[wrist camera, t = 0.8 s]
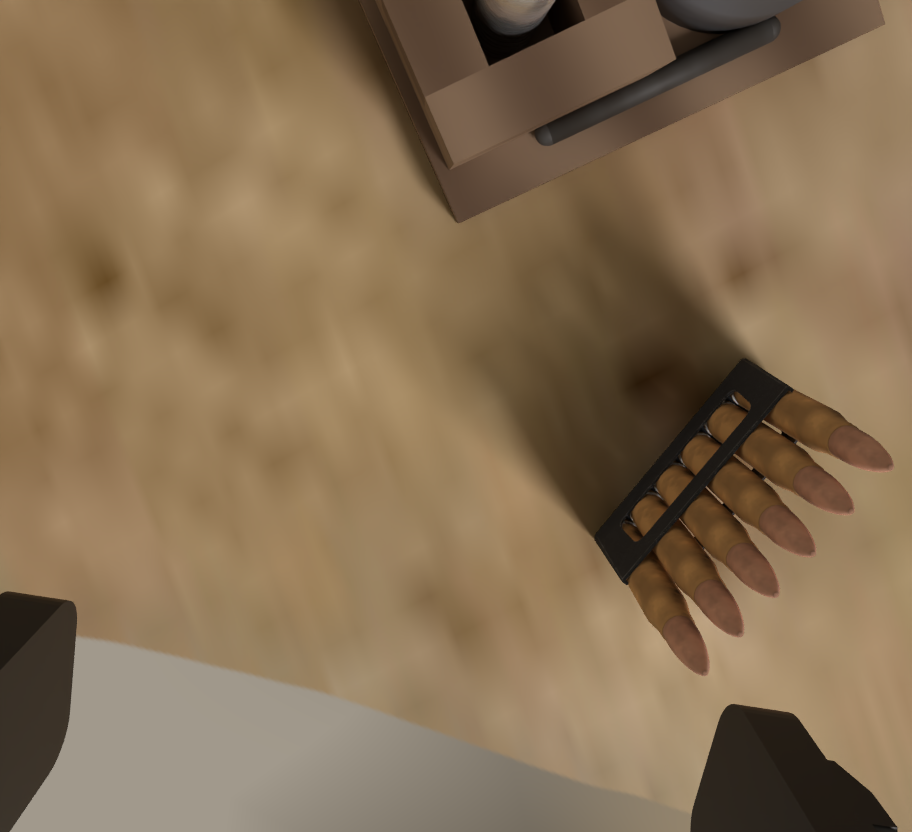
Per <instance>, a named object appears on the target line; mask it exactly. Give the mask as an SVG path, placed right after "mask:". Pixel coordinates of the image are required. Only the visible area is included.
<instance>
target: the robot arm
mask: <svg viewBox="0 0 912 832" xmlns="http://www.w3.org/2000/svg"><path fill="white" fill-rule="evenodd" d="M76 627H77V611H76V607H75V604H74V603H73V602H72V601H68V600H62V599H55V598H49V597H42V596H35V595H29V594H22V593H16V592H4V593H2V594H1V595H0V832H9V831H10V830H11V829H12V827H13V826H14V824H15V823H16V822H17V820H18V819H19V817H20V816H21V814H22V813H23V811H24V810H25V808H26V807H27V805H28V804H29V803H30V801H31V800H32V798H33V797H34V795H35V794H36V792H37V791H38V789H39V788H40V786H41V785H42V783H43V782H44V780H45V779H46V777H47V776H48V775H49V773H50V771H51V770H52V768H53V766H54V764H55V762H56V760H57V758H58V756H59V753H60V750H61V748H62V745H63V742H64V738H65V735H66V731H67V727H68V722H69V715H70V704H71V690H72V677H73V664H74V652H75V639H76ZM691 832H897V826H896V825H895V823H894V822H893V821H892V819H891V818H890V817H889V815H888V814H887V813H886V811H885V810H884V809H883V807H882V806H881V804H880V803H879V802H878V800H877V799H876V798H875V796H874V795H873V794H872V793H871V792H870V791H869V790H868V789H867V788H866V787H864V786H863V785H862V784H861V783H860V782H858V781H857V780H856V779H855V778H854V777H852V776H851V775H850V774H849V773H848V772H847V771H845V770H844V769H843V768H842V767H841V766H839V765H838V764H837V763H836V762H835V761H830V760H827V759H826V758H825V756H824V755H823V753H822V752H821V751H820V749H819V748H818V746H817V745H816V743H815V742H814V741H813V739H812V738H811V736H810V735H809V733H808V732H807V730H806V729H805V728H804V726H803V725H802V723H801V722H800V720H799V719H798V718H797V717H796V716H795V715H794V714H792V713H789V712H783V711H776V710H770V709H763V708H757V707H750V706H744V705H737V704H731V705H729V706H727V707H726V708H725V710H724V711H723V713H722V715H721V717H720V719H719V722H718V725H717V729H716V732H715V735H714V739H713V742H712V746H711V749H710V752H709V756H708V759H707V762H706V766H705V769H704V772H703V776H702V779H701V782H700V786H699V789H698V793H697V796H696V799H695V803H694V806H693V810H692V817H691Z"/></svg>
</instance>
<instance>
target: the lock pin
mask: <svg viewBox="0 0 912 832" xmlns="http://www.w3.org/2000/svg"><path fill="white" fill-rule="evenodd" d="M554 2H555V0H475V1H474V5H473V9H472V13H471V17H470V21H471V24H472V26H473V29H474V31H475V34H476V36H477V38H478V41H479V43H480V46H481V48H482V51H483V52H484V53H485V54H487V55H489V56H491V57H495V58H507V57H510V56H512V55H514V54H516V53H518V52H520V51H521V50H522V49H523V48H524V47H525V46H526V45H527V43H528V42H529V40H530V39H531V37H532V36H533V34H534V33H535V31H536V30H537V28H538V26H539V25H540V23H541V22H542V20H543V19H544V17H545V16H546V14H547V13H548V11H549V10H550V8H551V6H552V5H553V3H554Z"/></svg>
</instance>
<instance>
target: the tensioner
mask: <svg viewBox="0 0 912 832" xmlns="http://www.w3.org/2000/svg"><path fill="white" fill-rule="evenodd" d="M474 1H475V0H359V3H360V5H361V7H362V9H363V12H364V14H365V16H366V18H367V21H368V23H369V25H370V27H371V30H372V32H373V34H374V36H375V39H376V41H377V43H378V46H379V48H380V50H381V52H382V55H383V57H384V59H385V61H386V64H387V66H388V68H389V70H390V73H391V75H392V77H393V80H394V82H395V84H396V86H397V89H398V91H399V93H400V95H401V98H402V100H403V102H404V104H405V107H406V109H407V111H408V114H409V116H410V118H411V120H412V123H413V125H414V127H415V129H416V132H417V134H418V136H419V138H420V141H421V143H422V145H423V148H424V150H425V152H426V154H427V157H428V159H429V161H430V163H431V166H432V168H433V170H434V172H435V175H436V177H437V179H438V181H439V184H440V186H441V188H442V191H443V193H444V195H445V197H446V200H447V202H448V204H449V206H450V209H451V211H452V213H453V215H454V218H455V220H456V222H457V223H460V222H462V221H465V220H467V219H469V218H471V217H473V216H475V215H477V214H480V213H482V212H484V211H486V210H488V209H490V208H492V207H495V206H497V205H499V204H501V203H503V202H505V201H507V200H510V199H512V198H514V197H516V196H518V195H520V194H522V193H525V192H527V191H529V190H531V189H533V188H535V187H537V186H540V185H542V184H544V183H546V182H548V181H550V180H552V179H555V178H557V177H559V176H561V175H563V174H565V173H567V172H570V171H572V170H574V169H576V168H578V167H580V166H582V165H585V164H587V163H589V162H591V161H593V160H595V159H597V158H600V157H602V156H604V155H606V154H608V153H610V152H612V151H615V150H617V149H619V148H621V147H623V146H625V145H627V144H630V143H632V142H634V141H636V140H638V139H640V138H642V137H645V136H647V135H649V134H651V133H653V132H655V131H657V130H660V129H662V128H664V127H666V126H668V125H670V124H672V123H675V122H677V121H679V120H681V119H683V118H685V117H687V116H690V115H692V114H694V113H696V112H698V111H700V110H702V109H705V108H707V107H709V106H711V105H713V104H715V103H717V102H720V101H722V100H724V99H726V98H728V97H730V96H732V95H735V94H737V93H739V92H741V91H743V90H745V89H747V88H750V87H752V86H754V85H756V84H758V83H760V82H762V81H765V80H767V79H769V78H771V77H773V76H775V75H777V74H780V73H782V72H784V71H786V70H788V69H790V68H792V67H795V66H797V65H799V64H801V63H803V62H805V61H807V60H810V59H812V58H814V57H816V56H818V55H820V54H822V53H825V52H827V51H829V50H831V49H833V48H835V47H837V46H840V45H842V44H844V43H846V42H848V41H850V40H852V39H855V38H857V37H859V36H861V35H863V34H865V33H867V32H870V31H872V30H874V29H876V28H878V27H880V26H882V25H885V21H884V18H883V14H882V11H881V8H880V4H879V1H878V0H555V2H554V3H553V5H552V6H551V8H550V10H549V11H548V13H547V14H546V16H545V17H544V19H543V20H542V22H541V23H540V25H539V26H538V28H537V30H536V31H535V33H534V34H533V36H532V37H531V39H530V40H529V42H528V43H527V45H526V46H525V47H524V48H523V49H522V50H521V51H520V52H518V53H516V54H514V55H512V56H510V57H507V58H495V57H491V56H489V55H487V54H485V53H484V52H483V51H482V48H481V46H480V43H479V41H478V38H477V36H476V34H475V31H474V29H473V26H472V24H471V21H470V17H471V13H472V9H473V5H474Z"/></svg>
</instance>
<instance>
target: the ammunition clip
mask: <svg viewBox="0 0 912 832" xmlns="http://www.w3.org/2000/svg"><path fill="white" fill-rule="evenodd" d="M763 420H765V421H766V422H768V423H770V424H771V425H773V426H774V427H776V428H778V429H779V430H781V431H782V433H781V434H779V433H778V432H776V431H775V430H773V429H772V428H770V427H769V426H767V425H765V424H764V423H762V421H763ZM798 441H799V442H801V443H802V444H804V445H805V446H807V447H809V448H811V449H813V450H815V451H818V452H823V453H827V454H829V455H831V456H833V457H835V458H837V459H840V460H842V461H844V462H846V463H848V464H850V465H852V466H855V467H857V468H860V469H863V470H867V471H874V472H888V471H891V470H893V468H894V464H893V460H892V458H891V456H890V455H889V454H888V452H887V451H886V450H885V449H884V448H883V447H882V445H881V444H880V443H879V442H877V441H876V440H875V439H874V438H872V437H871V436H870V435H868V434H866V433H864V432H863V431H861V430H859V429H858V428H857V427H856V426H854V425H852V424H851V423H849V422H847V420H846V419H845V418H844V417H843V416H842V415H841V414H840V413H839V412H837V411H835V410H833V409H831V408H829V407H828V406H826V405H824V404H822V403H820V402H818V401H816V400H814V399H812V398H810V397H808V396H806V395H804V394H802V393H800V392H798V391H796V390H794V389H792V388H791V387H790V386H788V385H787V384H785V383H784V382H782V381H781V380H779V379H777V378H776V377H774V376H773V375H771V374H770V373H768V372H766V371H765V370H763V369H762V368H760V367H758V366H757V365H755V364H754V363H752V362H751V361H749V360H747V359H746V358H745V359H741V361H740V362H739V363H738V364H737V365H736V367H735V368H734V369H733V370H732V371H731V373H730V374H729V375H728V376H727V377H726V379H725V380H724V381H723V382H722V383H721V384H720V386H719V387H718V388H717V389H716V390H715V392H714V393H713V394H712V395H711V396H710V398H709V399H708V400H707V401H706V402H705V404H704V405H703V406H702V407H701V408H700V410H699V411H698V412H697V413H696V414H695V416H694V417H693V418H692V419H691V420H690V422H689V423H688V424H687V425H686V426H685V428H684V429H683V430H682V431H681V432H680V434H679V435H678V436H677V437H676V438H675V440H674V441H673V442H672V443H671V444H670V446H669V447H668V448H667V449H666V450H665V451H664V453H663V454H662V455H661V456H660V457H659V459H658V460H657V461H656V462H655V463H654V465H653V466H652V467H651V468H650V469H649V471H648V472H647V473H646V474H645V475H644V477H643V478H642V479H641V480H640V481H639V483H638V484H637V485H636V486H635V487H634V489H633V490H632V491H631V492H630V493H629V495H628V496H627V497H626V498H625V499H624V501H623V502H622V503H621V504H620V505H619V507H618V508H617V509H616V510H615V511H614V513H613V514H612V515H611V516H610V517H609V519H608V520H607V521H606V522H605V523H604V524H603V526H602V527H601V528H600V529H599V530H598V532H597V533H596V534H595V541H596V543H597V544H598V546H599V547H600V549H601V551H602V552H603V554H604V555H605V557H606V558H607V560H608V561H609V563H610V564H611V566H612V567H613V569H614V570H615V572H616V573H617V575H618V576H619V578H620V579H621V581H622V582H623V583H624V584H626V585H629V587H630V589H631V591H632V592H633V594H634V596H635V598H636V600H637V601H638V603H639V605H640V607H641V609H642V610H643V612H644V614H645V616H646V618H647V619H648V621H649V622H650V623H651V624H652V625H653V626H654V627H655V628H656V629H657V630H658V631H659V632H660V634H661V635H662V637H663V638H664V639H665V640H666V642H667V643H668V645H669V647H670V648H671V650H672V651H673V652H674V654H675V655H676V656H677V657H678V658H679V659H680V661H681V662H682V663H683V664H684V665H686V666H687V667H688V668H689V669H690V670H692V671H693V672H695V673H697V674H699V675H701V676H706V675H708V673H709V668H710V662H709V656H708V652H707V648H706V646H705V643H704V641H703V638H702V636H701V634H700V632H699V630H698V628H697V627H696V625H695V622H694V620H693V618H692V617H691V615H690V612H689V608H688V605H687V602H686V600H685V598H684V596H683V595H682V593H681V592H680V590H679V589H678V587H679V588H680V589H681V590H682V591H683V592H684V593H685V594H686V595H688V596H689V597H690V598H691V599H692V600H693V601H694V602H695V604H696V605H697V606H698V607H699V608H700V609H701V610H702V612H703V613H704V614H705V615H706V616H707V617H708V618H709V619H710V620H711V621H712V622H713V623H714V624H715V625H716V626H717V627H718V628H719V629H721V630H722V631H724V632H726V633H727V634H729V635H732V636H734V637H742V636H743V634H744V622H743V618H742V615H741V612H740V609H739V607H738V605H737V603H736V601H735V599H734V597H733V596H732V594H731V593H730V592H729V590H728V589H727V587H726V585H725V583H724V582H723V580H722V579H721V578H720V575H719V573H718V570H717V567H716V565H715V563H714V562H713V561H712V560H711V558H710V557H709V556H708V555H707V553H706V552H705V551H704V548H705V549H706V550H707V551H708V552H709V553H710V554H711V556H712V557H714V558H715V559H717V560H718V561H720V562H722V563H723V564H724V565H725V566H726V567H727V568H728V569H729V570H730V571H732V572H733V573H734V574H735V575H736V576H737V577H738V578H739V579H740V580H741V581H742V582H743V583H744V584H745V585H747V586H748V587H749V588H751V589H752V590H754V591H756V592H758V593H760V594H762V595H764V596H767V597H772V598H776V597H778V596H779V594H780V587H779V583H778V580H777V577H776V574H775V572H774V570H773V568H772V567H771V565H770V564H769V562H768V561H767V559H766V558H765V557H764V556H763V555H762V553H761V552H760V551H759V550H758V548H757V547H756V545H755V544H754V543H753V542H752V541H751V539H750V537H749V534H748V532H747V530H746V529H745V528H744V527H743V526H742V524H741V523H740V522H739V521H738V520H737V519H736V518H735V517H734V516H733V515H734V514H736V515H737V516H738V517H739V518H740V519H741V520H742V521H743V522H745V523H747V524H749V525H751V526H753V527H755V528H757V529H758V530H759V531H760V532H762V533H763V534H764V535H766V536H767V537H769V538H770V539H771V540H772V541H773V542H774V543H776V544H777V545H779V546H780V547H782V548H783V549H785V550H787V551H789V552H791V553H794V554H796V555H799V556H802V557H814V556H815V555H816V546H815V543H814V540H813V538H812V536H811V534H810V532H809V531H808V529H807V528H806V527H805V525H804V524H803V523H802V522H801V521H800V520H799V518H798V517H797V516H796V515H795V514H794V513H792V512H791V510H790V509H789V508H788V507H787V506H786V505H785V504H784V503H783V502H782V500H781V499H780V497H779V495H778V494H777V493H776V492H775V490H774V489H773V488H772V487H771V486H769V485H768V484H767V483H766V482H765V481H764V479H765V478H767V479H769V480H770V481H771V482H773V483H774V484H775V485H777V486H779V487H781V488H783V489H786V490H789V491H791V492H793V493H795V494H796V495H798V496H800V497H802V498H803V499H805V500H806V501H807V502H809V503H811V504H813V505H815V506H816V507H818V508H820V509H822V510H825V511H827V512H830V513H834V514H838V515H851V514H853V513H854V511H855V508H854V504H853V501H852V499H851V497H850V495H849V494H848V492H847V491H846V490H845V489H844V487H843V486H842V485H841V484H840V483H839V482H838V481H837V480H836V479H835V478H834V477H833V476H832V475H830V474H829V473H827V472H826V471H824V469H823V468H822V467H821V466H819V465H818V464H817V463H815V462H814V460H813V459H812V458H811V457H810V455H809V454H808V453H807V452H806V451H805V450H804V449H802V448H801V447H799V446H798V445H796V443H797V442H798ZM734 453H735V454H736V455H738V456H739V457H740V458H742V459H743V460H744V461H745V462H747V463H748V464H749V465H751V466H752V467H753V470H752V471H751V470H750V469H749V468H748V467H746V466H745V465H744V464H743V463H742V462H740V461H739V460H738V459H737V458H735V457H734V456H733V454H734ZM706 486H707V487H708V488H709V489H710V490H711V491H712V492H713V493H714V494H715V495H716V496H717V497H718V498H719V499H720V500H721V501H722V502H724V503H723V504H721V503H720V502H719V501H718V500H717V499H716V498H715V497H714V496H713V495H712V494H711V493H710V492H709V491H708V490H707V489H706V488H705V487H706ZM679 518H680V519H681V520H682V522H683V523H684V524H685V525H686V526H687V528H688V529H689V530H690V531H691V532H692V534H693V535H694V536H695V537H693V536H692V535H691V533H690V532H689V531H688V530H687V528H686V527H685V526H684V525H683V523H682V522H681V521H680V520H679ZM675 583H676V584H675ZM676 585H677V586H678V587H677V586H676Z"/></svg>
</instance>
